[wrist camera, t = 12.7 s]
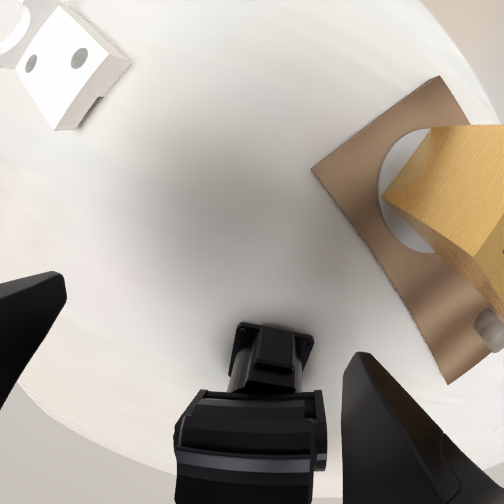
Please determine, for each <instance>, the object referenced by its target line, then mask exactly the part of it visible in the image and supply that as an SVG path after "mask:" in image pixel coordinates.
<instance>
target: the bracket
mask: <svg viewBox="0 0 504 504" xmlns="http://www.w3.org/2000/svg"><path fill="white" fill-rule="evenodd" d="M19 2H20V3H21V4H23V5H24V12H23V16H22V19H21V21H20V23H19V24H18V26H17V27H16V29H15V30H14V31H13V32H12V33H11V34H10V35H9V36H8V37H7V38H6V39H4V40H3V41H1V42H0V68H11V69H15V70H16V72H17V74H18V76H19V77H20V79H21V81H22V82H23V84H24V86H25V87H26V89H27V91H28V92H29V94H30V95H31V97H32V99H33V100H34V102H35V103H36V105H37V106H38V108H39V110H40V111H41V113H42V114H43V116H44V117H45V119H46V120H47V122H48V123H49V125H50V126H51V127H52V129H53V130H54V131H60V130H75V129H76V127H77V126H78V124H79V123H80V121H81V120H82V118H83V117H84V116H85V114H86V113H87V111H88V110H89V109H90V107H91V106H92V105H93V103H94V102H95V101H96V99H97V98H98V97H99V96H100V97H104V96H105V95H106V94H107V92H108V91H109V90H110V89H111V87H112V86H113V85H114V84H115V83H116V81H117V80H118V79H119V78H120V77H121V76H122V74H123V73H124V72H125V71H126V70H127V69H128V68H129V67H130V66H131V64H132V63H131V62H130V61H129V60H128V59H127V58H126V57H125V56H124V55H123V54H122V53H121V52H120V51H119V50H118V49H117V48H116V47H115V46H113V45H112V44H111V43H110V42H109V41H108V40H107V39H106V38H105V37H104V36H103V35H102V34H101V33H100V32H99V31H98V30H96V29H95V28H94V27H93V26H92V25H91V24H90V23H89V22H88V21H87V20H86V19H84V18H83V17H82V16H81V15H80V14H79V13H78V12H77V11H76V10H74V9H73V8H72V7H71V6H69V5H67V4H65V3H62V2H60V1H57V0H19Z"/></svg>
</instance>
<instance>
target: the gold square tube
mask: <svg viewBox="0 0 504 504" xmlns="http://www.w3.org/2000/svg"><path fill="white" fill-rule="evenodd" d="M380 197H381V198H382V199H384V200H385V201H386V202H387V203H388V204H389V205H390V206H391V207H392V208H393V209H394V210H395V211H396V212H397V213H398V214H399V215H400V216H401V217H402V218H403V219H404V220H405V221H406V222H407V223H408V224H409V225H410V226H411V227H412V228H413V229H414V230H415V231H416V232H417V233H418V234H419V235H420V236H421V237H422V238H423V239H424V241H425V242H426V243H427V244H428V245H429V246H430V247H431V248H432V249H433V250H434V252H435V253H436V254H438V255H439V256H440V257H441V258H442V259H443V260H445V261H446V262H447V263H448V264H449V265H450V266H451V267H453V268H454V269H455V270H456V271H457V272H458V273H459V274H460V275H461V276H463V277H464V278H465V279H466V280H467V281H468V282H469V283H470V284H471V285H472V286H473V287H474V288H475V289H476V290H477V291H478V292H479V293H480V294H482V295H483V296H484V297H485V298H486V299H487V300H488V301H489V302H490V303H491V305H492V306H493V307H494V308H495V309H496V310H497V311H498V312H499V313H500V314H501V315H502V316H503V317H504V125H461V126H444V127H432V128H431V129H430V131H429V132H428V134H427V135H426V136H425V138H424V139H423V141H422V142H421V143H420V145H419V146H418V148H417V149H416V150H415V152H414V153H413V154H412V156H411V157H410V158H409V160H408V161H407V163H406V164H405V165H404V167H403V168H402V169H401V171H400V172H399V173H398V174H397V176H396V177H395V178H394V180H393V181H392V182H391V184H390V185H389V186H388V187H387V189H386V190H385V191H384V193H383V194H382V195H381V196H380Z"/></svg>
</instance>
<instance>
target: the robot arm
mask: <svg viewBox="0 0 504 504" xmlns="http://www.w3.org/2000/svg"><path fill="white" fill-rule="evenodd" d="M66 300H67V293H66V287H65V281H64V277H63V275H62V274H60V273H58V272H55V271H50V272H45V273H41V274H37V275H33V276H29V277H25V278H21V279H17V280H13V281H9V282H5V283H1V284H0V410H1V407H2V406H3V404H4V402H5V401H6V399H7V397H8V395H9V394H10V392H11V390H12V388H13V387H14V385H15V383H16V382H17V380H18V378H19V377H20V375H21V373H22V372H23V370H24V369H25V367H26V366H27V364H28V362H29V361H30V359H31V358H32V356H33V355H34V353H35V352H36V350H37V349H38V347H39V346H40V344H41V343H42V342H43V340H44V338H45V337H46V335H47V334H48V332H49V330H50V328H51V327H52V325H53V323H54V321H55V320H56V318H57V316H58V315H59V313H60V311H61V310H62V308H63V307H64V305H65V303H66ZM241 328H244V329H245V330H241ZM306 341H310V342H306ZM313 345H314V338H313V337H312V336H309V335H303V334H298V333H293V332H289V331H283V330H278V329H273V328H268V327H261V326H256V325H252V324H247V323H240V324H238V326H237V329H236V335H235V340H234V346H233V351H232V357H231V362H230V367H229V373H228V375H229V377H231V378H230V382H229V385H228V389H227V392H213V391H208V390H202V389H201V390H200V391H199V392H198V394H197V395H196V396H195V398H194V399H193V400H192V402H191V403H190V405H189V406H188V407H187V409H186V410H185V411H184V413H183V414H182V415H181V417H180V418H179V420H178V422H177V423H176V424H175V432H174V435H173V440H174V452H175V456H176V459H177V480H176V489H175V498H174V500H175V502H176V504H311V502H312V493H313V475H314V471H315V472H316V471H325V468H326V461H327V424H326V416H325V409H324V402H323V396H322V390H314V392H302V372H303V370H304V367H305V365H306V362H307V360H308V357H309V355H310V352H311V350H312V347H313ZM341 436H342V462H343V504H504V488H502V487H500V486H499V485H498V484H496V483H495V482H494V481H493V480H492V479H491V478H490V477H489V476H488V475H487V474H485V473H484V472H483V471H482V470H481V469H480V468H479V467H478V466H477V465H476V464H475V463H473V462H472V461H471V460H470V459H469V458H468V457H467V456H466V455H465V454H464V453H463V452H462V451H461V450H460V449H459V448H458V447H457V446H456V445H455V444H454V443H453V441H452V440H451V439H450V438H449V437H448V436H447V435H446V434H445V433H443V431H442V429H441V428H440V427H439V426H438V425H437V424H436V423H435V422H434V421H433V420H432V419H431V417H430V416H429V415H428V414H427V413H426V412H425V411H424V410H423V409H422V408H421V407H420V406H419V404H418V403H417V402H416V401H415V400H414V399H413V398H412V397H411V396H410V395H409V394H408V393H407V392H406V391H405V389H404V388H403V387H402V386H401V385H400V384H399V383H398V382H397V381H396V380H395V379H394V378H393V377H392V376H391V375H390V373H389V372H388V371H387V370H386V369H385V368H384V367H383V366H382V365H381V364H380V363H379V362H378V361H377V360H376V359H375V358H374V357H373V356H372V355H371V354H370V353H366V352H356V353H355V354H354V356H353V358H352V359H351V361H350V363H349V365H348V366H347V368H346V370H345V372H344V375H343V391H342V412H341Z"/></svg>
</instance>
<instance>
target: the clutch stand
mask: <svg viewBox="0 0 504 504" xmlns="http://www.w3.org/2000/svg"><path fill="white" fill-rule="evenodd" d="M461 125H470V123H469V121H468V120H467V118H466V116H465V114H464V112H463V111H462V109H461V107H460V106H459V104H458V102H457V101H456V99H455V98H454V96H453V94H452V93H451V91H450V90H449V88H448V87H447V85H446V84H445V82H444V81H443V79H442V78H441V77H440V75H439V76H437V77H434V78H432V79H430V80H428V81H427V82H426V83H424V84H423V85H421V86H420V87H419V88H417V89H416V90H414V91H413V92H412V93H410V94H409V95H408V96H406V97H405V98H403V99H402V100H401V101H399V102H398V103H397V104H395V105H394V106H393V107H391V108H390V109H389V110H387V111H386V112H385V113H383V114H382V115H381V116H379V117H378V118H377V119H375V120H374V121H373V122H371V123H370V124H369V125H367V126H366V127H365V128H363V129H362V130H361V131H359V132H358V133H357V134H355V135H354V136H353V137H351V138H350V139H349V140H348V141H346V142H345V143H344V144H342V145H341V146H340V147H338V148H337V149H336V150H335V151H333V152H332V153H331V154H329V155H328V156H327V157H326V158H324V159H323V160H322V161H320V162H319V163H318V164H317V165H315V166H314V167H313V168H312V169H311V170H312V171H313V173H314V174H315V175H316V176H317V178H318V179H319V180H320V181H321V183H322V184H323V185H324V187H325V188H326V189H327V190H328V192H329V193H330V194H331V196H332V197H333V198H334V199H335V201H336V202H337V203H338V205H339V206H340V207H341V209H342V210H343V212H344V213H345V214H346V216H347V217H348V218H349V220H350V221H351V223H352V224H353V225H354V227H355V228H356V230H357V231H358V232H359V234H360V235H361V237H362V238H363V240H364V241H365V242H366V244H367V245H368V247H369V248H370V250H371V251H372V253H373V254H374V256H375V257H376V259H377V260H378V262H379V263H380V265H381V266H382V268H383V270H384V271H385V273H386V274H387V276H388V277H389V279H390V281H391V282H392V284H393V285H394V287H395V289H396V290H397V292H398V294H399V295H400V297H401V299H402V300H403V302H404V304H405V305H406V307H407V309H408V310H409V312H410V314H411V316H412V317H413V319H414V321H415V323H416V325H417V326H418V328H419V330H420V332H421V334H422V335H423V337H424V339H425V341H426V343H427V345H428V347H429V349H430V351H431V353H432V355H433V357H434V359H435V361H436V363H437V365H438V367H439V369H440V371H441V373H442V375H443V377H444V379H445V381H446V383H447V385H449V384H450V383H452V382H453V381H455V380H456V379H458V378H459V377H460V376H462V375H463V374H464V373H466V372H467V371H468V370H470V369H471V368H472V367H474V366H475V365H476V364H478V363H479V362H480V361H481V360H483V359H484V358H485V357H486V356H487V355H489V354H490V353H491V352H493V353H496V352H499V351H500V350H501V349H503V348H504V317H503V316H502V315H501V314H500V313H499V312H498V311H497V310H496V309H495V308H494V307H493V306H492V305H491V303H490V302H489V301H488V300H487V299H486V298H485V297H484V296H483V295H482V294H480V293H479V292H478V291H477V290H476V289H475V288H474V287H473V286H472V285H471V284H470V283H469V282H468V281H467V280H466V279H465V278H464V277H463V276H461V275H460V274H459V273H458V272H457V271H456V270H455V269H454V268H453V267H451V266H450V265H449V264H448V263H447V262H446V261H445V260H443V259H442V258H441V257H440V256H439V255H438V254H436V253H435V252H434V250H433V249H432V248H431V247H430V246H429V245H428V244H427V243H426V242H425V241H424V239H423V238H422V237H421V236H420V235H419V234H418V233H417V232H416V231H415V230H414V229H413V228H412V227H411V226H410V225H409V224H408V223H407V222H406V221H405V220H404V219H403V218H402V217H401V216H400V215H399V214H398V213H397V212H396V211H395V210H394V209H393V208H392V207H391V206H390V205H389V204H388V203H387V202H386V201H385V200H384V199H382V198H381V197H380V196H381V195H382V194H383V193H384V191H385V190H386V189H387V187H388V186H389V185H390V184H391V182H392V181H393V180H394V178H395V177H396V176H397V174H398V173H399V172H400V171H401V169H402V168H403V167H404V165H405V164H406V163H407V161H408V160H409V158H410V157H411V156H412V154H413V153H414V152H415V150H416V149H417V148H418V146H419V145H420V143H421V142H422V141H423V139H424V138H425V136H426V135H427V134H428V132H429V131H430V129H431V128H432V127H444V126H461Z"/></svg>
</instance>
